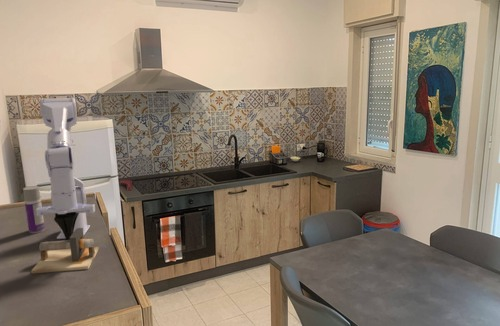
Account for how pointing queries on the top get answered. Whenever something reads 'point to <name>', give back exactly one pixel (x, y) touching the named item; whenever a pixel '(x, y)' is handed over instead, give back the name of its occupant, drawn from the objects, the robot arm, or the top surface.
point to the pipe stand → (64, 256)
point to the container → (33, 209)
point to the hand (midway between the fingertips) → (69, 238)
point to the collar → (76, 244)
